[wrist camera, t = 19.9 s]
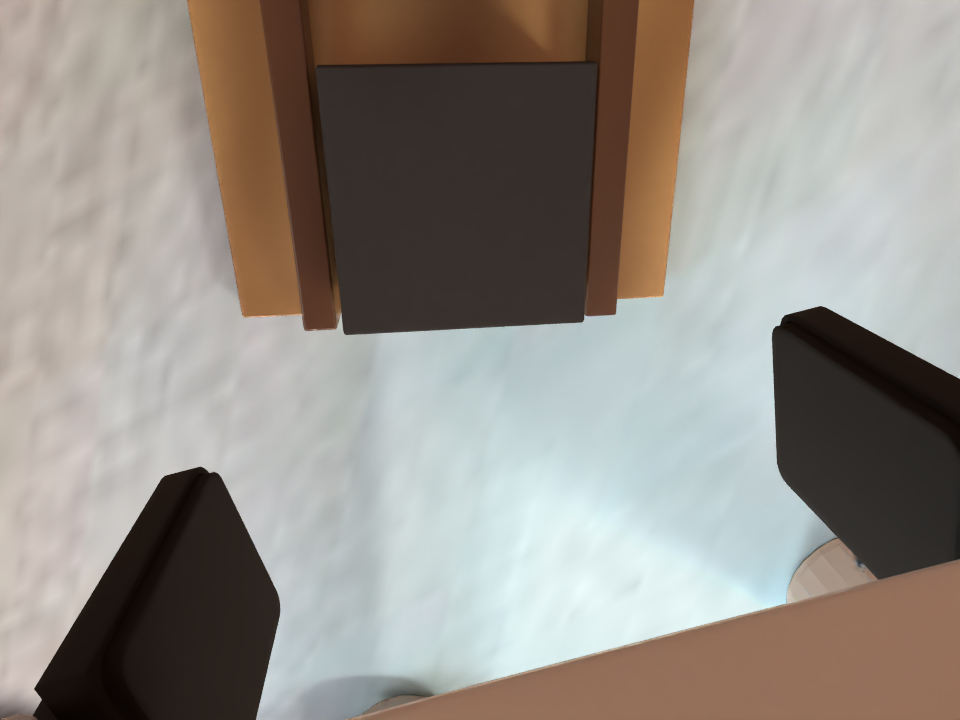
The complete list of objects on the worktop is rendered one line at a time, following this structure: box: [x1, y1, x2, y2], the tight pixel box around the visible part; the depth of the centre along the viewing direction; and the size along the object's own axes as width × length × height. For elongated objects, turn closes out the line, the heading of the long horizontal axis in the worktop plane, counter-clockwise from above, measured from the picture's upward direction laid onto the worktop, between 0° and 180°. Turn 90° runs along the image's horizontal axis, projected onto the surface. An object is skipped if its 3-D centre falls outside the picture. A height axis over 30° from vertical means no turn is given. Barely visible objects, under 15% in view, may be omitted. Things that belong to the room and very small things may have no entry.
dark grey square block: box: [315, 61, 598, 335], centre depth 18 cm, size 6×6×4 cm
